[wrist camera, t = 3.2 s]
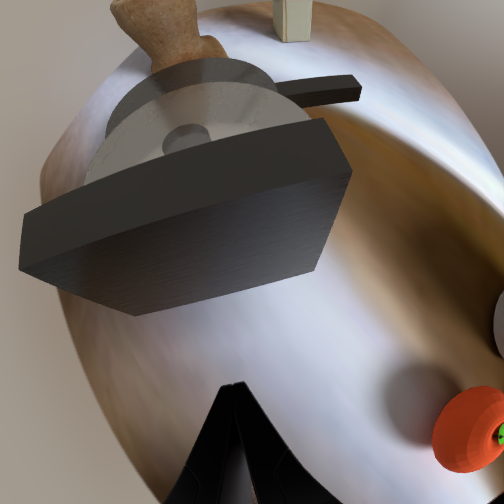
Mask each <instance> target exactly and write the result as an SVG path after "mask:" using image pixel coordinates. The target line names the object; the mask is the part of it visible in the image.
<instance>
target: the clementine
mask: <svg viewBox="0 0 504 504" xmlns="http://www.w3.org/2000/svg"><path fill="white" fill-rule="evenodd" d="M432 447H433V451H434V454H435V458H436V459H437V460H438V462H439V463H440V464H441V465H442V466H443V467H444V468H446V469H448V470H450V471H453V472H457V473H468V472H473V471H476V470H480V469H481V468H483V467H485V466H486V465H488V464H489V463H491V462H492V461H494V460H495V459H496V458H497V457H498V456H499V455H500V454H501V452H502V451H503V450H504V394H503V393H502V392H501V391H500V390H499V389H496V388H492V387H488V386H480V387H473V388H470V389H467V390H465V391H463V392H461V393H460V394H458V395H457V396H455V397H454V398H453V399H452V400H450V401H449V402H448V404H447V405H446V406H445V407H444V408H443V410H442V411H441V413H440V415H439V416H438V418H437V421H436V423H435V425H434V429H433V433H432Z"/></svg>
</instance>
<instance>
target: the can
mask: <svg viewBox="0 0 504 504" xmlns="http://www.w3.org/2000/svg"><path fill="white" fill-rule="evenodd" d="M493 331H494V337H495V341H496V345H497V347H498V350H499V353H500V354H501V355H502V357H503V358H504V291H503V293H502V294H501V295H500V297H499V300H498V302H497V304H496V309H495V314H494V328H493Z"/></svg>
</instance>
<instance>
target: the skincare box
mask: <svg viewBox="0 0 504 504" xmlns="http://www.w3.org/2000/svg"><path fill="white" fill-rule="evenodd" d="M311 15H312V0H273V28H274V29H275V31H276V33H277V34H278V36H279V38H280V39H281V41H282V42H298V41H310V29H311Z"/></svg>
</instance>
